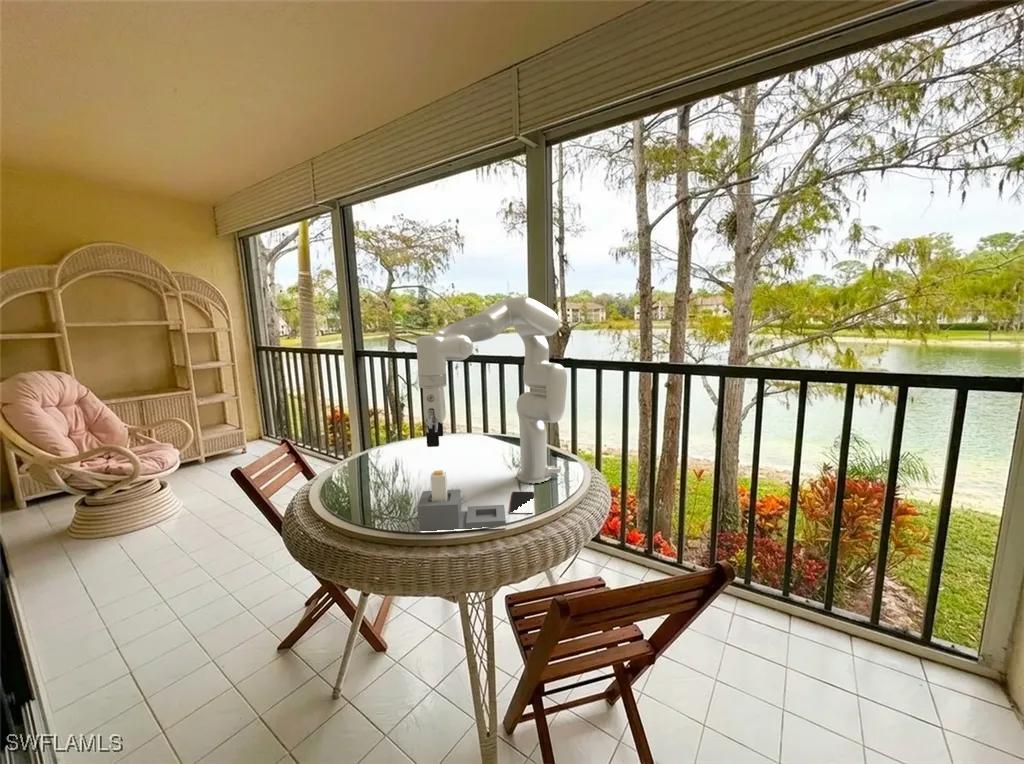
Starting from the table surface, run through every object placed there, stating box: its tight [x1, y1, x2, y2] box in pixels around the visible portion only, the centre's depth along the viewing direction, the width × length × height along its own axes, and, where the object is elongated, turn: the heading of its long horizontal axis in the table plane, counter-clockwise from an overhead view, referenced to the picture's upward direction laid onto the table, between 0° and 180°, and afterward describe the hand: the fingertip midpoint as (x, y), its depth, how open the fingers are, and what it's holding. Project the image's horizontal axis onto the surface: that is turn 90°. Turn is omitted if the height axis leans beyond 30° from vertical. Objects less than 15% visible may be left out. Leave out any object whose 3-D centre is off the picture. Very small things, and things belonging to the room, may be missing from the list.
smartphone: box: [509, 491, 535, 513], centre depth 134 cm, size 7×1×15 cm
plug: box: [430, 469, 448, 502], centre depth 120 cm, size 4×3×9 cm
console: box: [417, 489, 507, 532], centre depth 121 cm, size 24×10×8 cm, turn 94°
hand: (435, 441), depth 118 cm, fingers open, 9 cm apart
